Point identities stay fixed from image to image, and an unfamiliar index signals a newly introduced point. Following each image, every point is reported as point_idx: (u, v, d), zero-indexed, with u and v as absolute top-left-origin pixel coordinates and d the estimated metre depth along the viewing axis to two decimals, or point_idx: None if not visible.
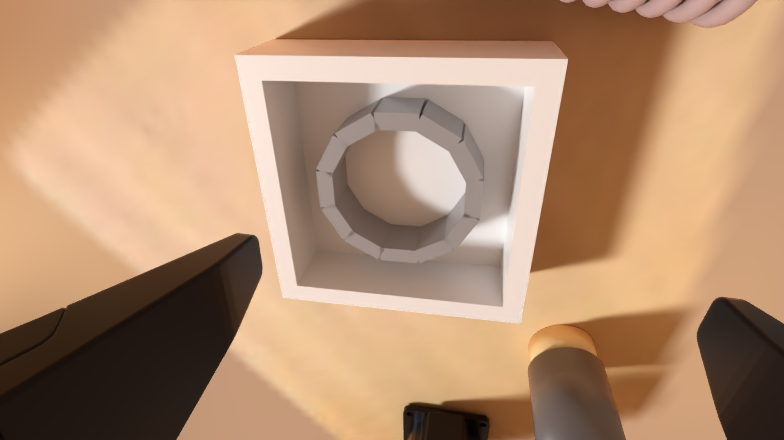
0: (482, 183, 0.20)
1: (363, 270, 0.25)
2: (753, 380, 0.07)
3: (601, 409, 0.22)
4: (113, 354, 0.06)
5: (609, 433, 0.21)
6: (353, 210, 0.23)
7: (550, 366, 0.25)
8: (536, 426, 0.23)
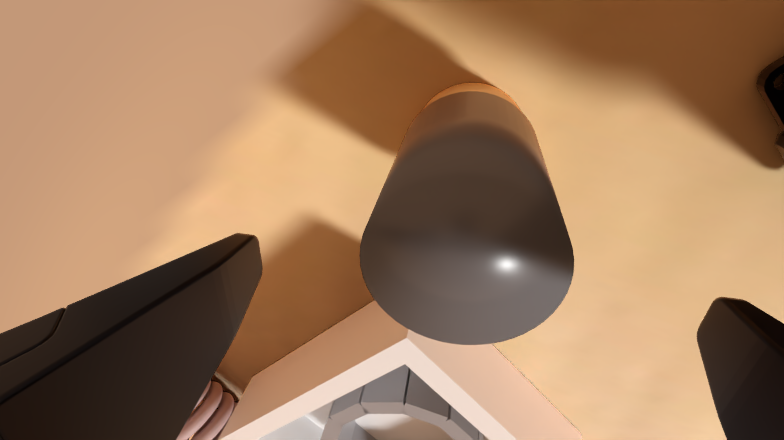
0: (332, 416, 0.21)
1: None
2: (753, 380, 0.07)
3: None
4: (113, 354, 0.06)
5: None
6: None
7: None
8: None
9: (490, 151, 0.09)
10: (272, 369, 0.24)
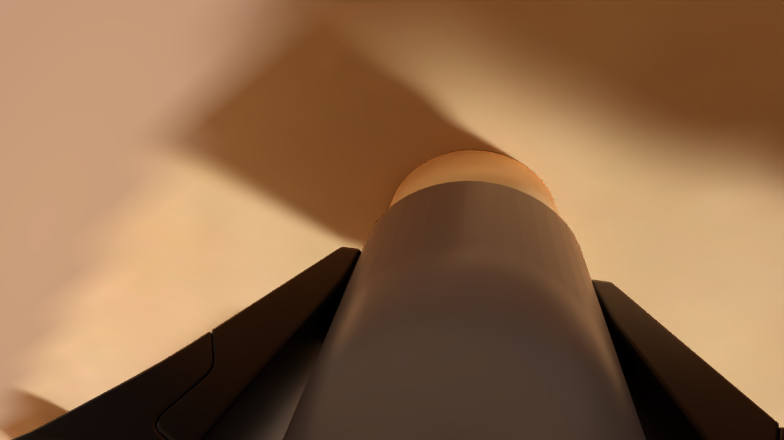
0: None
1: None
2: None
3: None
4: (270, 382, 0.06)
5: None
6: None
7: None
8: None
9: (518, 436, 0.04)
10: None
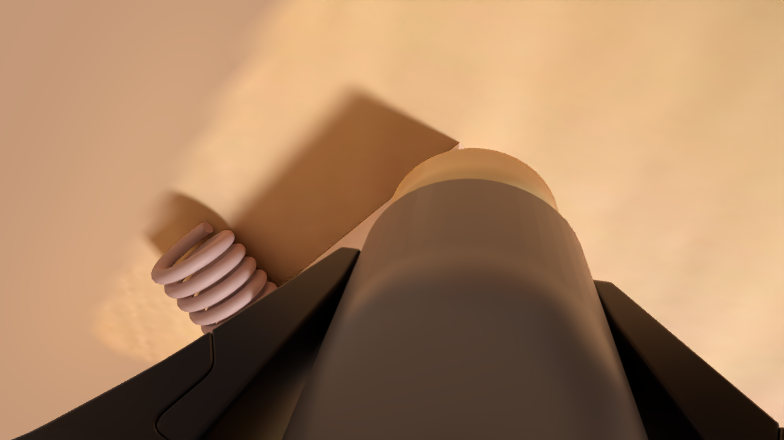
0: None
1: None
2: None
3: None
4: (271, 382, 0.06)
5: None
6: None
7: None
8: None
9: (518, 432, 0.04)
10: None
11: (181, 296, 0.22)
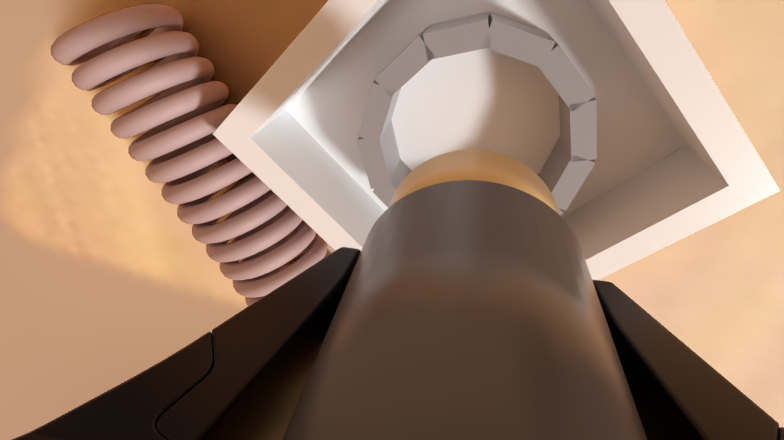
0: (378, 77, 0.14)
1: (653, 86, 0.14)
2: None
3: None
4: (270, 382, 0.06)
5: None
6: (556, 159, 0.16)
7: None
8: None
9: (517, 437, 0.04)
10: None
11: (93, 77, 0.15)
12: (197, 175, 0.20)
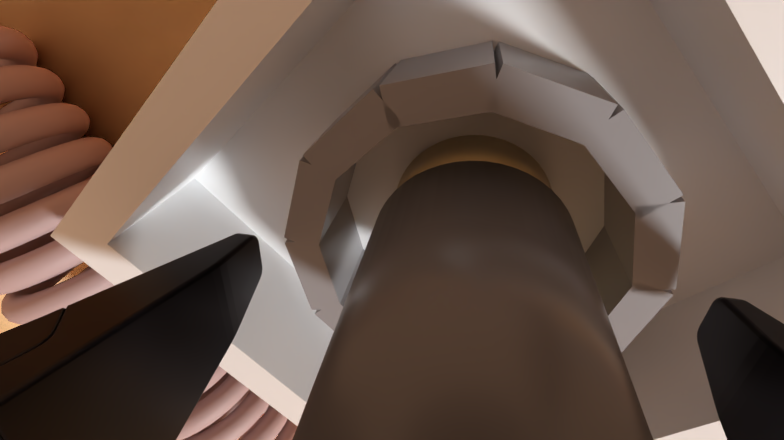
0: (308, 153, 0.09)
1: (779, 173, 0.08)
2: (753, 380, 0.07)
3: None
4: (113, 354, 0.06)
5: None
6: (601, 270, 0.10)
7: None
8: None
9: (521, 355, 0.04)
10: None
11: None
12: None
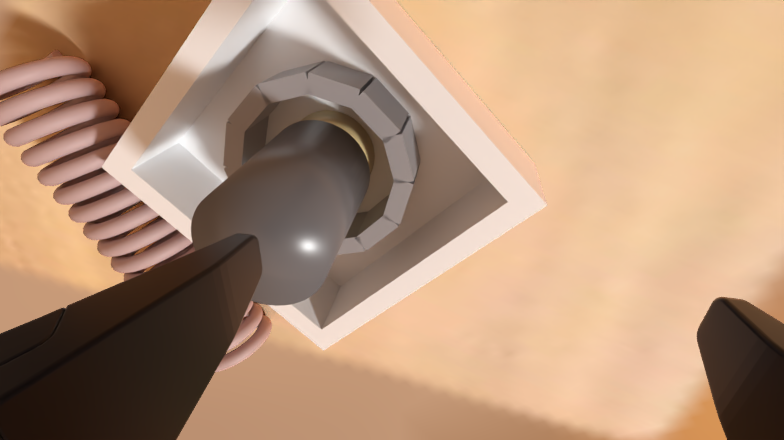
0: (230, 118, 0.17)
1: None
2: (753, 380, 0.07)
3: None
4: (113, 354, 0.06)
5: None
6: None
7: None
8: None
9: (274, 169, 0.13)
10: None
11: (1, 118, 0.18)
12: (107, 196, 0.23)
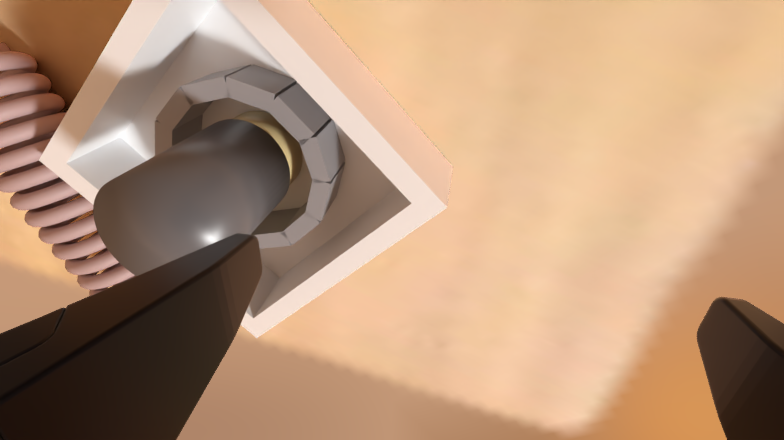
0: (158, 117, 0.18)
1: None
2: (753, 380, 0.07)
3: None
4: (113, 354, 0.06)
5: None
6: None
7: None
8: None
9: (173, 163, 0.14)
10: None
11: None
12: (52, 184, 0.24)
